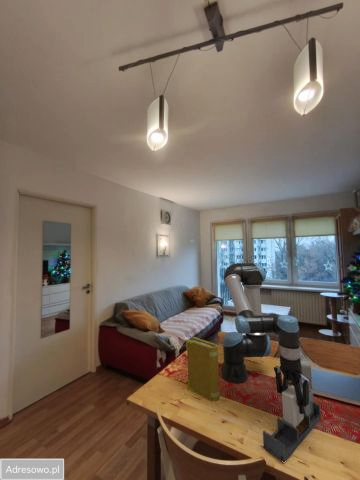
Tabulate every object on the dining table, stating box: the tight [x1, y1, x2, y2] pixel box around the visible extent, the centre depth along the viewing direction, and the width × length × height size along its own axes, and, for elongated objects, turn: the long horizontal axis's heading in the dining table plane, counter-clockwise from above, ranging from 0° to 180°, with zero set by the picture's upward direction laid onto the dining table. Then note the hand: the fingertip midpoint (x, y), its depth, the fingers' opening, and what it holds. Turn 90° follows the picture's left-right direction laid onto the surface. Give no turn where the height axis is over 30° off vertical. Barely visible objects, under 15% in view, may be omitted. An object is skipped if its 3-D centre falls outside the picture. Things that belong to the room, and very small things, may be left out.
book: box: [185, 336, 220, 402], centre depth 111 cm, size 17×7×25 cm, turn 47°
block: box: [281, 384, 304, 427], centre depth 85 cm, size 4×8×11 cm, turn 127°
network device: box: [288, 350, 313, 389], centre depth 109 cm, size 26×9×20 cm, turn 168°
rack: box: [262, 386, 322, 463], centre depth 85 cm, size 8×31×12 cm, turn 127°
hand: (293, 417), depth 85 cm, fingers closed on block, 4 cm apart
